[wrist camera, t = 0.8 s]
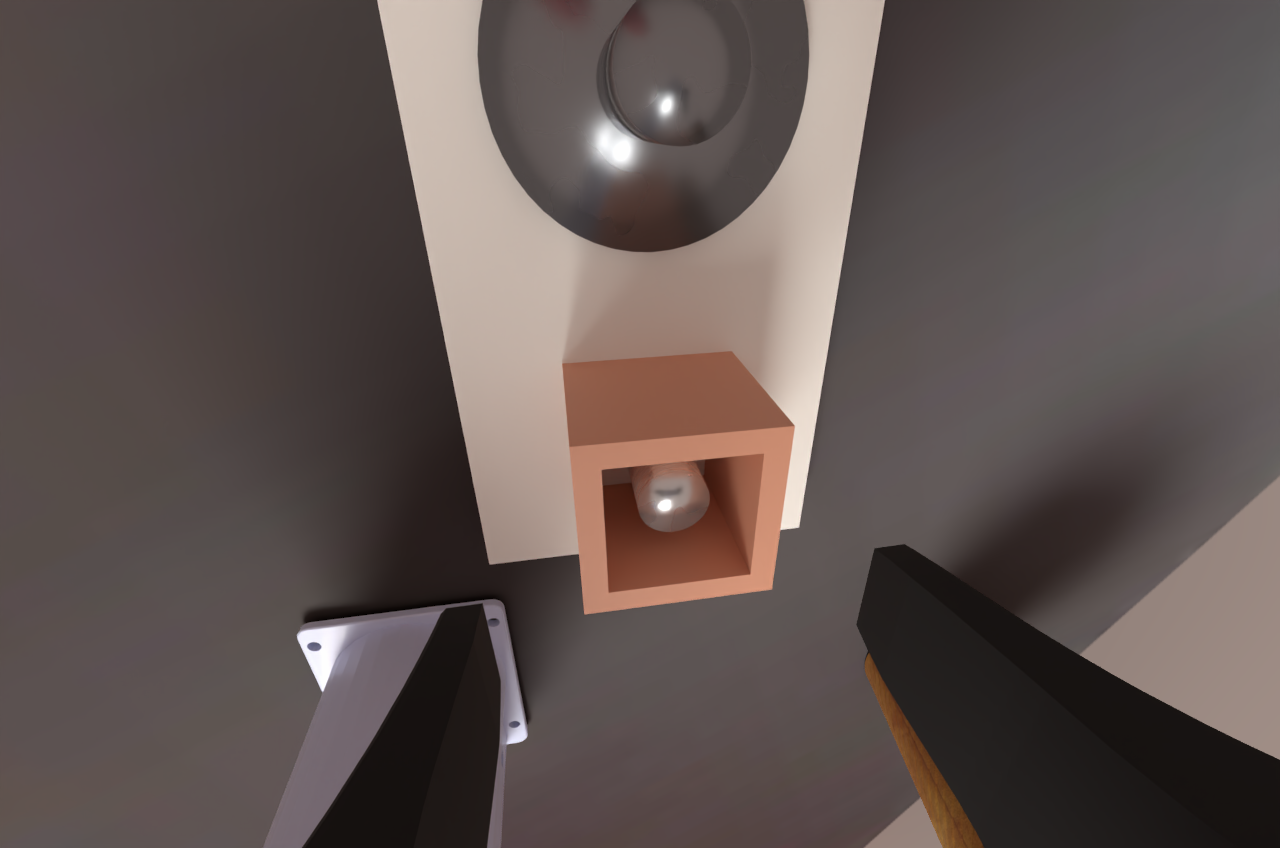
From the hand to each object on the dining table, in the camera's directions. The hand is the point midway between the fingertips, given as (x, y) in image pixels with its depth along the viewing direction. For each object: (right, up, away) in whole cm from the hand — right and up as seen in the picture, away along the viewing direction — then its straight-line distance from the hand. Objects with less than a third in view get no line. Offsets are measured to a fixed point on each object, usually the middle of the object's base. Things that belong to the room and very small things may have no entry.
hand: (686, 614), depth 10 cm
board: (-1, +8, +7) cm, 11 cm away
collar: (-1, +3, +8) cm, 9 cm away
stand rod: (-1, +3, +8) cm, 9 cm away
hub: (-1, +12, +4) cm, 12 cm away
